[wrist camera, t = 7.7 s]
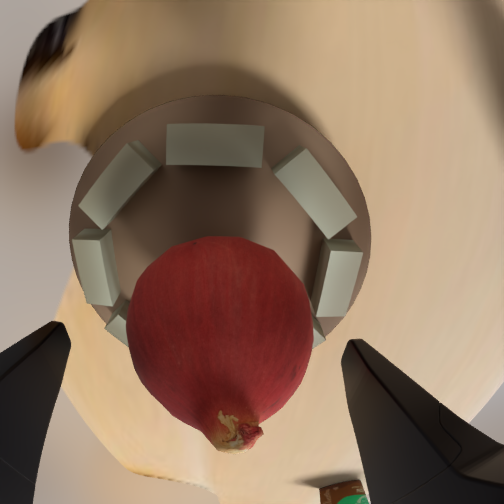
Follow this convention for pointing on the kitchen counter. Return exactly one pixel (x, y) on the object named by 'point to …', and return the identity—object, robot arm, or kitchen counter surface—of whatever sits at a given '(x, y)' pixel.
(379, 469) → the robot arm
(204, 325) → the pomegranate
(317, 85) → the kitchen counter surface
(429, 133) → the kitchen counter surface
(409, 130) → the kitchen counter surface
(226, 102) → the display stand
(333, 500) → the food container
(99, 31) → the kitchen counter surface
